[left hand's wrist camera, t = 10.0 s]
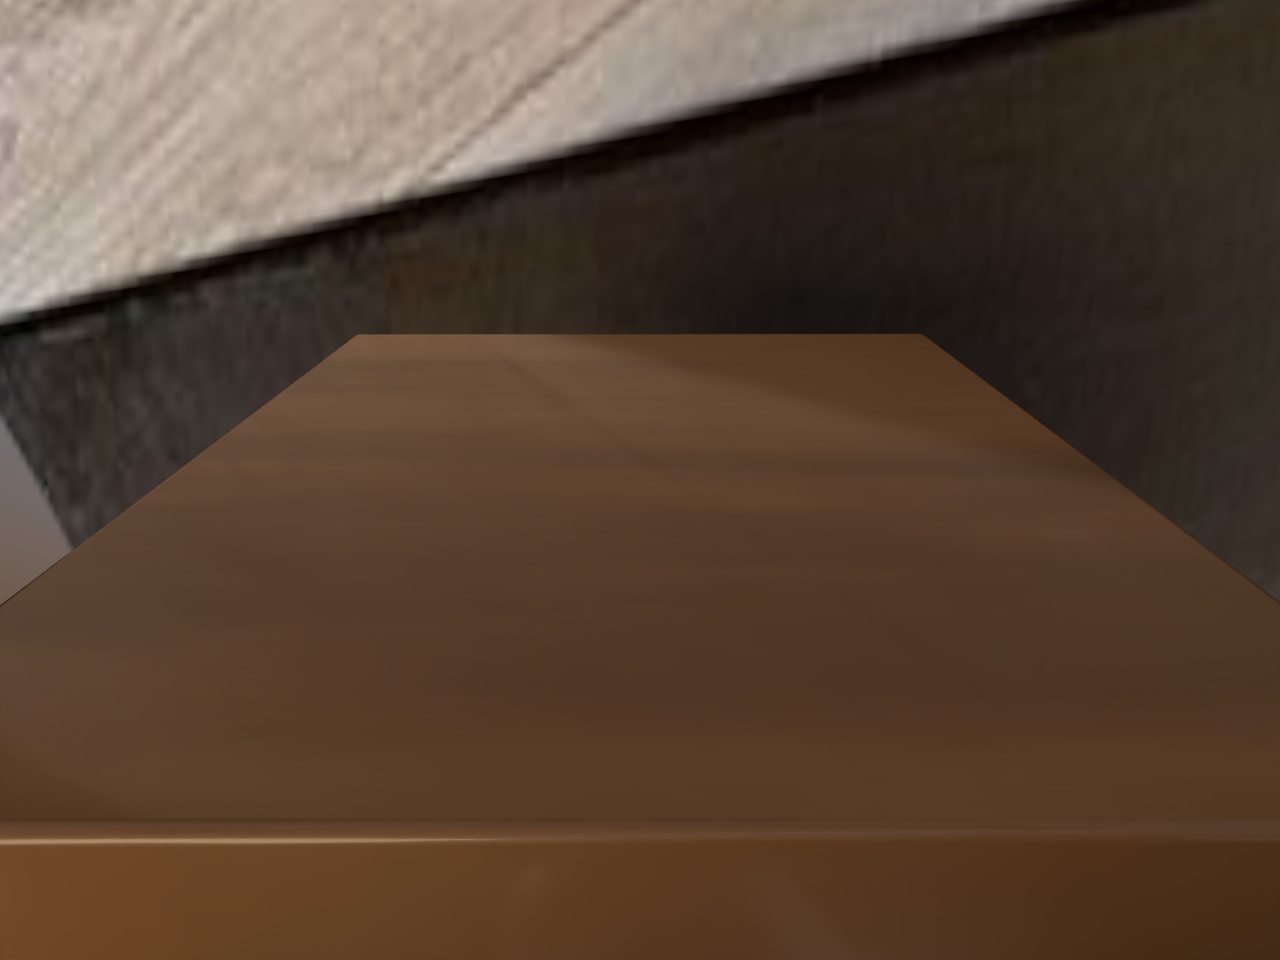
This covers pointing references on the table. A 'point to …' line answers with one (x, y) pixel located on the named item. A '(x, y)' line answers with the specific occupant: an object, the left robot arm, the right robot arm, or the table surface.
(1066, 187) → the table surface
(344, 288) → the table surface
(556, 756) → the box
